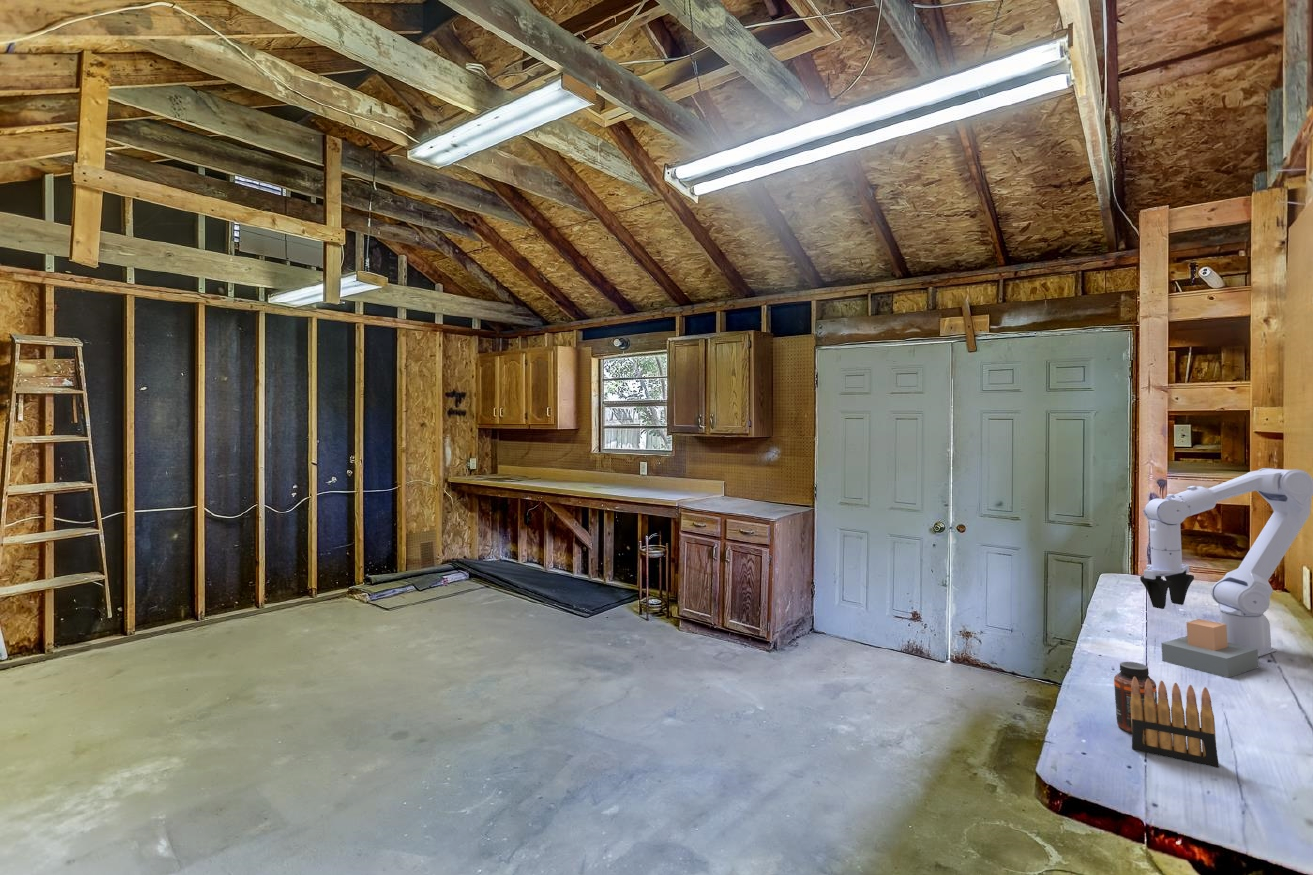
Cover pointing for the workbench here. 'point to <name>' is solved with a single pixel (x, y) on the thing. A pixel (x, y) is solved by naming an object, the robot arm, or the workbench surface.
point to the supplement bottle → (1124, 691)
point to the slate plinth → (1211, 657)
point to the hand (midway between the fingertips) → (1168, 605)
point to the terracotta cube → (1207, 634)
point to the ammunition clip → (1173, 725)
